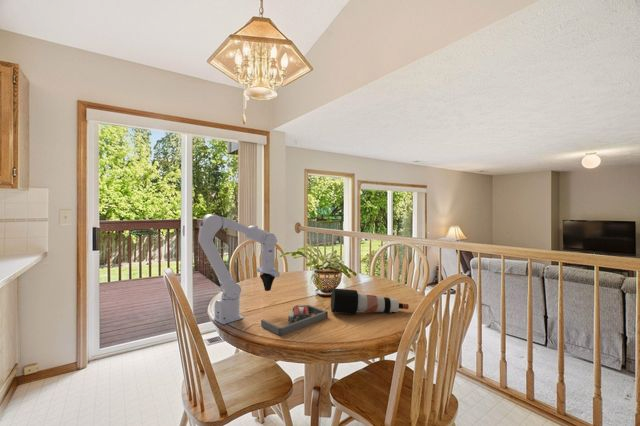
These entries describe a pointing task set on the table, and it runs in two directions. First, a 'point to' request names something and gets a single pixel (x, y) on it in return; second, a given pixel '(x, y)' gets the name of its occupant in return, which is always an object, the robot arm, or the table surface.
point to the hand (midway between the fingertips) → (267, 290)
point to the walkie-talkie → (298, 313)
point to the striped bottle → (362, 302)
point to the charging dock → (297, 325)
